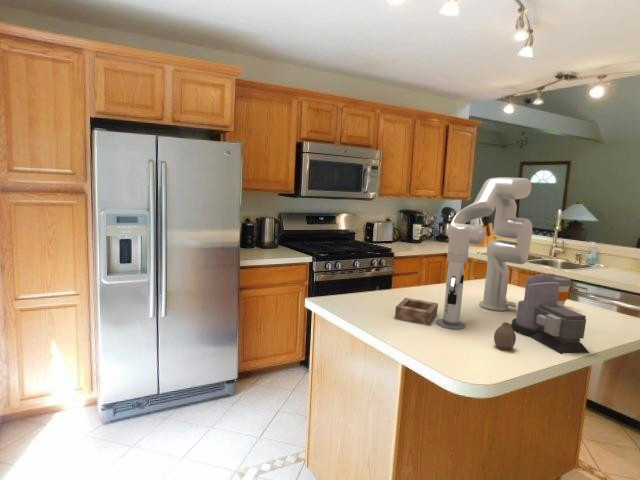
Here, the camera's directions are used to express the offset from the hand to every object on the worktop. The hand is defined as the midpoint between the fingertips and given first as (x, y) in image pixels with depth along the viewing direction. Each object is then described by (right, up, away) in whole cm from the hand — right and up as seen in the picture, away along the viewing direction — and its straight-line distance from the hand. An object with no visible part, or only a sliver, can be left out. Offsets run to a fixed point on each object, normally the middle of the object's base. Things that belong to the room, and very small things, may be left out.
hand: (452, 301), depth 163 cm
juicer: (+32, -13, -7) cm, 35 cm away
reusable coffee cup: (+58, -8, +34) cm, 68 cm away
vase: (+11, -13, -20) cm, 26 cm away
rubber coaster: (-1, -9, +1) cm, 10 cm away
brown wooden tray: (-12, -8, +9) cm, 17 cm away
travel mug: (0, -9, +1) cm, 9 cm away
